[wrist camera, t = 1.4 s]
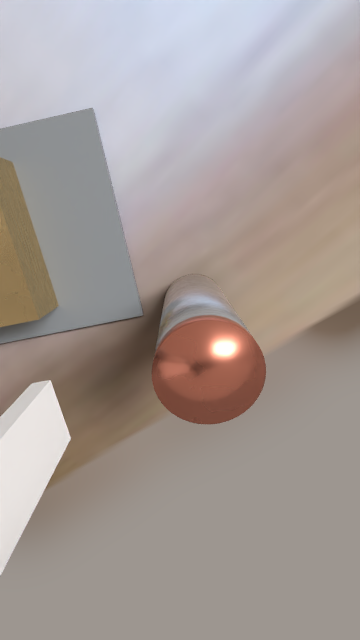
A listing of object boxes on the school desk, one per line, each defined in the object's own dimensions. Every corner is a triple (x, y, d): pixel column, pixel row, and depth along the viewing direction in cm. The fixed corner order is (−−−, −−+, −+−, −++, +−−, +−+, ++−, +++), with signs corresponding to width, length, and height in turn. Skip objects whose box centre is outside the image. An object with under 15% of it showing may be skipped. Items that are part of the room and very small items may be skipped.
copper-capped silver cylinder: (170, 337, 25) (165, 432, 13) (158, 280, 24) (140, 332, 12) (228, 326, 25) (272, 413, 13) (218, 268, 23) (258, 310, 12)
